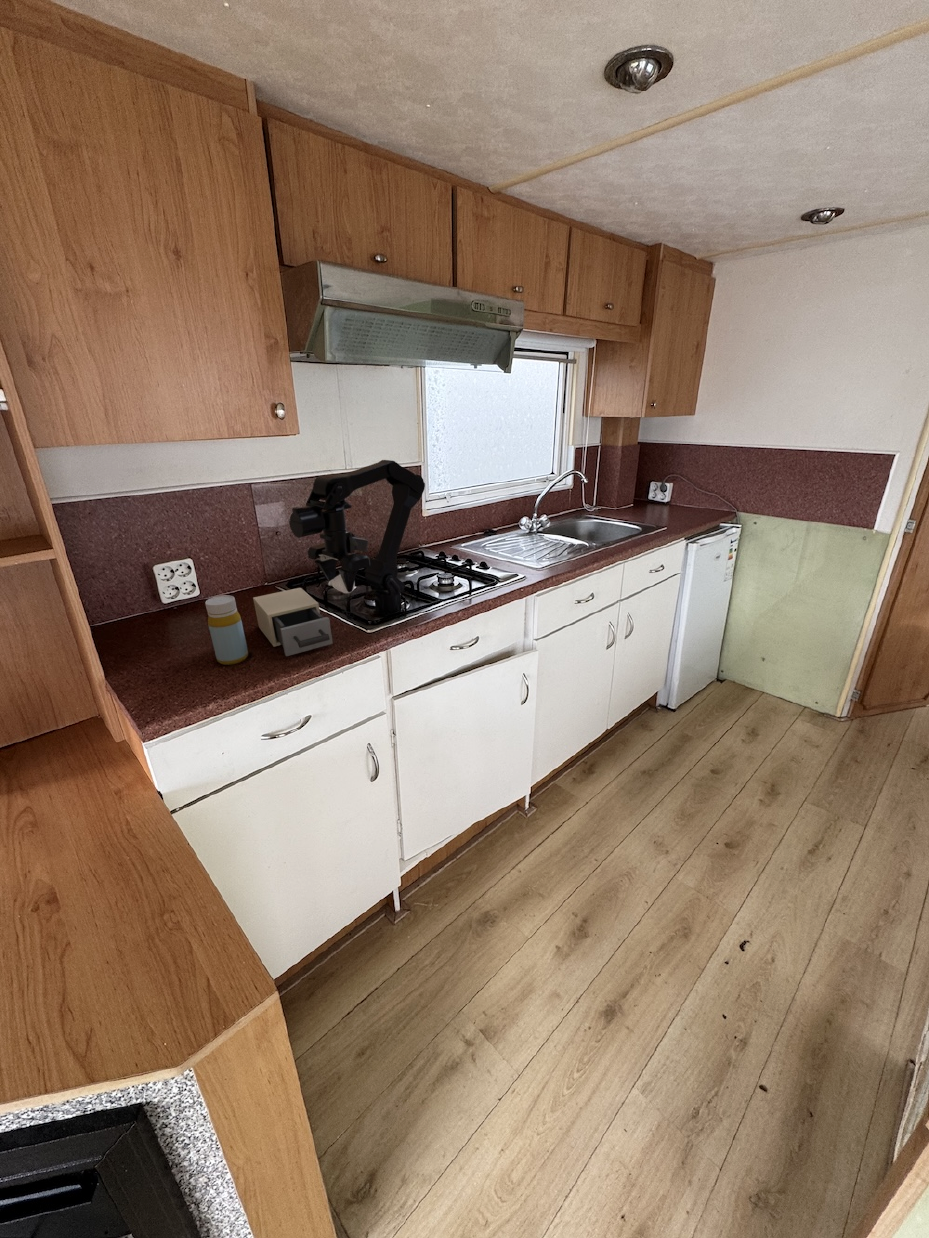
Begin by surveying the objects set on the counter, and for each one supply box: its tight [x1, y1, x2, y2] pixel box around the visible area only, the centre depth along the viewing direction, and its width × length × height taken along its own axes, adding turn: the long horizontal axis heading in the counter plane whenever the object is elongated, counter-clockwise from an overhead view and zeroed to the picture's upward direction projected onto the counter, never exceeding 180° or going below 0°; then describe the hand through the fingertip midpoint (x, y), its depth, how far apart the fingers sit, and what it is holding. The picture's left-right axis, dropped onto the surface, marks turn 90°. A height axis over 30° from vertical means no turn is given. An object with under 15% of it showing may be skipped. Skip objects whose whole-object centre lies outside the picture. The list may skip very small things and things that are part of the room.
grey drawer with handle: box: [272, 608, 333, 657], centre depth 130 cm, size 19×11×7 cm, turn 33°
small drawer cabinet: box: [252, 587, 321, 648], centre depth 139 cm, size 15×13×9 cm
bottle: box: [204, 594, 249, 666], centre depth 124 cm, size 7×7×15 cm
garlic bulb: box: [328, 574, 356, 594], centre depth 137 cm, size 6×6×5 cm
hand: (342, 588), depth 137 cm, fingers closed on garlic bulb, 6 cm apart
